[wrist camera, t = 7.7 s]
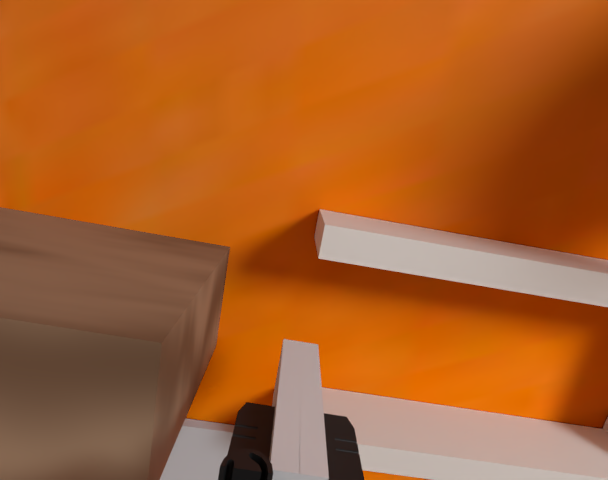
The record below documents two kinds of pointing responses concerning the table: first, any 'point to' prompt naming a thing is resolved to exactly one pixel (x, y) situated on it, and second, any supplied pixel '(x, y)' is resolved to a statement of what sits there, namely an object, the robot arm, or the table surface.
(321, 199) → the table surface
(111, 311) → the walnut block
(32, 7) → the table surface
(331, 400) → the bay
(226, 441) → the mat
